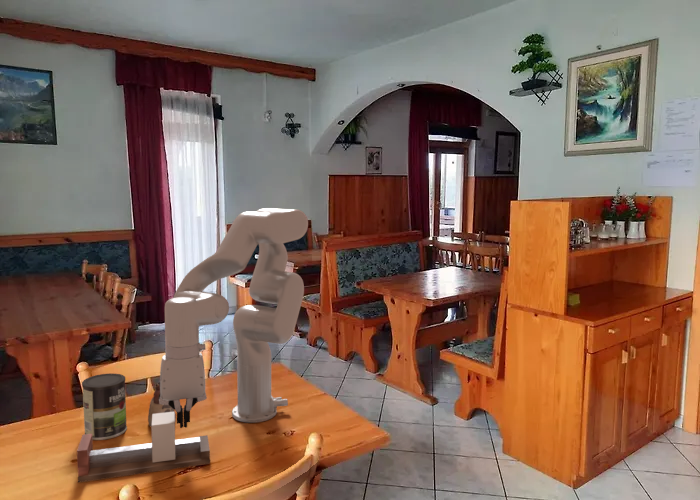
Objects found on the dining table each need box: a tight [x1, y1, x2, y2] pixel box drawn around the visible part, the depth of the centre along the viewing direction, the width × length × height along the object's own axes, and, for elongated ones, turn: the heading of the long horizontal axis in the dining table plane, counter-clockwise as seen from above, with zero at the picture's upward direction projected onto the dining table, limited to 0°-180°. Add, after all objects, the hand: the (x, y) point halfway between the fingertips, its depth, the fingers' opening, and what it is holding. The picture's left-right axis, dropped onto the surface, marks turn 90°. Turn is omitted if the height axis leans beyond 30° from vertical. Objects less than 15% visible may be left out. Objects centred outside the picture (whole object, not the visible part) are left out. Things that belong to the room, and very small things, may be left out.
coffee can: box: [81, 372, 128, 441], centre depth 139 cm, size 10×10×14 cm
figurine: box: [147, 380, 177, 428], centre depth 145 cm, size 7×7×12 cm
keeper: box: [151, 412, 176, 462], centre depth 125 cm, size 5×6×9 cm
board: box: [76, 433, 211, 483], centre depth 124 cm, size 28×9×7 cm, turn 108°
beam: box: [89, 436, 200, 468], centre depth 124 cm, size 24×2×3 cm, turn 108°
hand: (183, 425), depth 126 cm, fingers closed
